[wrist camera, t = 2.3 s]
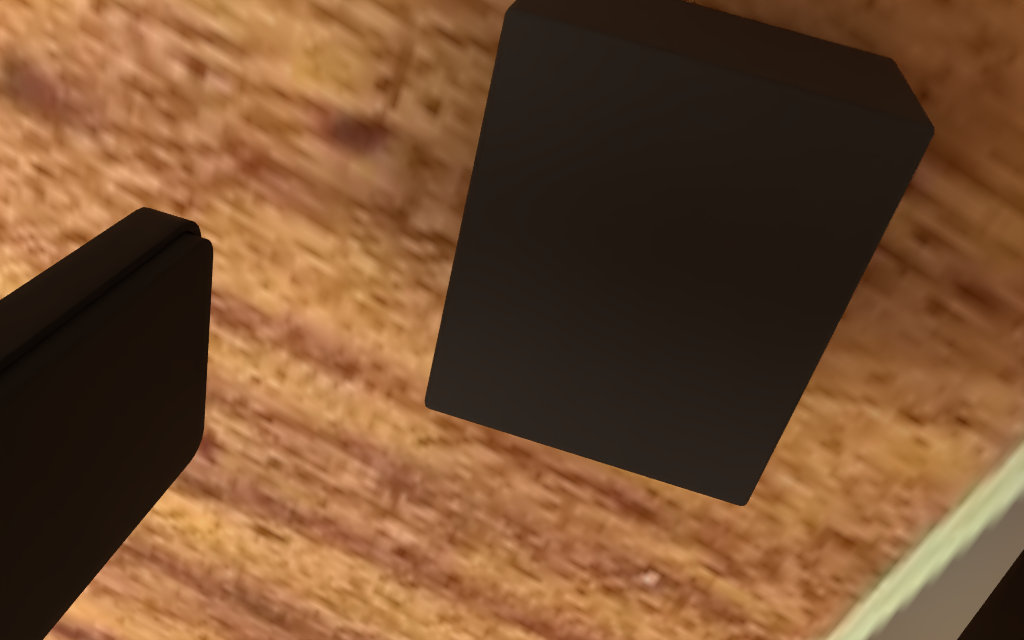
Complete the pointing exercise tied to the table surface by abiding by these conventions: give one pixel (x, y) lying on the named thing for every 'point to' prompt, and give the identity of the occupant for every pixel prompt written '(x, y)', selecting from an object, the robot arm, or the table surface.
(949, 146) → the table surface
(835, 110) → the loose pad
